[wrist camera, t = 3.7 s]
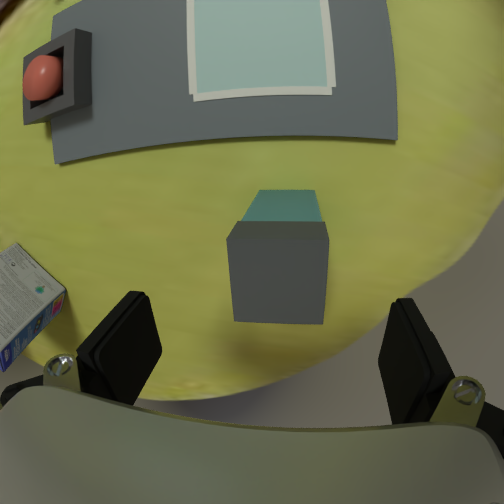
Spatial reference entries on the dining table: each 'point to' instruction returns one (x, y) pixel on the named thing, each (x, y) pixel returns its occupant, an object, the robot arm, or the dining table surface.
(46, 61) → the button
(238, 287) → the block
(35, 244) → the dining table surface
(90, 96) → the button housing
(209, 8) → the colouring board
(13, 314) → the ink cartridge box
